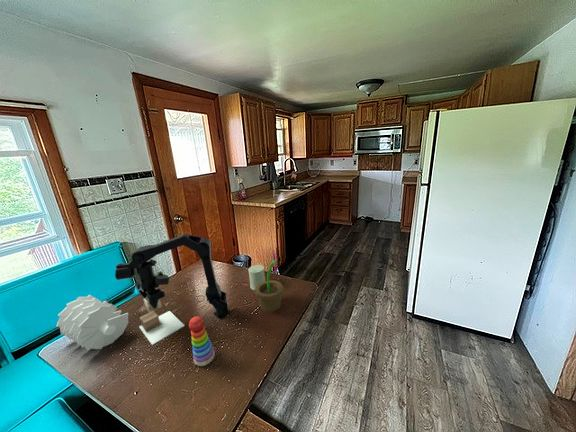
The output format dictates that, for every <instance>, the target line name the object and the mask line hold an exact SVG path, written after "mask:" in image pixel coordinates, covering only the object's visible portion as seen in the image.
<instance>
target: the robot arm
mask: <svg viewBox="0 0 576 432" xmlns="http://www.w3.org/2000/svg"><path fill="white" fill-rule="evenodd" d="M181 246H184V247H187V248H188V249H190V250H192V251H194V252H196V253H197V255H198V257H199V259H200V260H201V262H202V266H203V272H204V275H205V279H206V284H207V286H206V287H205V296H206V302H208V304H209V305H212V307H213V308H214V309H215V312H213V315H214V317H216V318H217V319H219V320H222V319H223V318H225V317H227V316H229V315H230V314H231V313H232V310H230V309H229V307H228V301H227V293H226V291H224V290H223V291H222V289H221V286H220V284H219V283H218V282H217V278H216V274H215V270H214V265H213V260H212V252H211V251H212V242H211V240H210V239H209V238H207V237H201V236H197V235H192V234H189V233H183V234H181V235H179V236H178V235H177V236H176V237H173V238H171V239H168V240H164V241H163V242H159V243H156V244H148V245H142V246H140V247H138V248H137V249H136V250H135V251H134V252H133V253H132V254H131V261H130V262H125V263H122V262H121V263H117V264H116V266H115V271H114V273H115V274H114V276H115V279H116V280H118V281H121V280H127V279H134V278H135V277H136V275H137V281H136V283H135V284H134V285H135V286H134V287H135V289H136V290H137V291H138V293H139V294H140V296H141V297H143V299H144V298H146V300H147V301H148V302H149V304H150V305H151V306H152V307H153V308H154V309H156V308H157V303H158V300H159V299H160V300H161V299H163V298H165V297H166V294H165V293H166V292H165V291H164V290H163V289H161V288H160V286H162V285H163V286H164V285H165V286H168V285H169V283H170V279H171V278H170V276H168V275H167V274H164V273H163V272H162V271H157V273H156V274H155V273H154V269H153V267H155V266H156V264H157V263H158V261H157V260H154V259H153V258H154V257H156V256H157V255H158V256H159V255H160V254H162V253H165V252H168V251H171V250H173V249H177V248H179V247H181ZM156 310H157V309H156Z"/></svg>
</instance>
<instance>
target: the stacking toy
mask: <svg viewBox="0 0 576 432" xmlns="http://www.w3.org/2000/svg"><path fill="white" fill-rule="evenodd" d="M188 328H189V329H190V334H191V345H192V347H191V348H192V357H193V358H192V360H193V363H194V365H195V366H198V367H204V366H206V365H208V364H210V363H211V362H212V361H213V360H214V358H215V355H216V351H215V349H214V346H213V344H212V342H211V339H210V337H209V335H208V333H207V330H206V326H204V319H203V318H202V317H201V316H200V315H199V316H198V315H197V316H194V317H192V318H191V319H190V320H189V322H188Z"/></svg>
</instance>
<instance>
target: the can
mask: <svg viewBox="0 0 576 432" xmlns="http://www.w3.org/2000/svg"><path fill="white" fill-rule="evenodd" d="M248 276H249V285H250V286H249V287H250V289H251V290H252V291H255V288H256V286H257V285H258V284H260V283H261V282H265V281H266V276H265V267H264V265H261V264H255V265H251V266H249V267H248Z"/></svg>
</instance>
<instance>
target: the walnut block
mask: <svg viewBox="0 0 576 432" xmlns="http://www.w3.org/2000/svg"><path fill="white" fill-rule="evenodd" d="M139 320H140V324H141V325H142V327H143V328H144V330H145V331H146V332H148V331H150V330H151V329H153V328H155V327H157V326H159V325H160V321H159V315H158V314H157V313H156V312H155V310H154V311H152V312H150V313H149V312H148V313H146V314H143V315H142V316H140V317H139Z"/></svg>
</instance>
